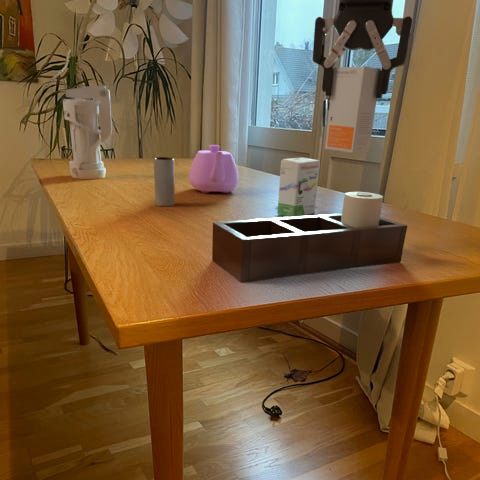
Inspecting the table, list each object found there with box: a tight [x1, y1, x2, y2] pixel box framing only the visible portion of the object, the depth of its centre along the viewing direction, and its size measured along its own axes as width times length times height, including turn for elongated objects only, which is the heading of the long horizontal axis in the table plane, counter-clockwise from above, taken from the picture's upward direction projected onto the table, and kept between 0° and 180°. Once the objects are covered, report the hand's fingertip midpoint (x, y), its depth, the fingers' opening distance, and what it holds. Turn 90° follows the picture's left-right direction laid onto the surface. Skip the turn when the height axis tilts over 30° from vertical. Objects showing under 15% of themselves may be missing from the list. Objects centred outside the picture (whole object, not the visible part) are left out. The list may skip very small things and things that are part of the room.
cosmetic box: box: [324, 66, 382, 155], centre depth 74 cm, size 6×4×12 cm
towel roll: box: [341, 191, 384, 228], centre depth 77 cm, size 6×6×10 cm
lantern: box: [62, 85, 113, 180], centre depth 139 cm, size 13×10×25 cm
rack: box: [211, 213, 408, 283], centre depth 74 cm, size 29×10×6 cm, turn 116°
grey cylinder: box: [153, 156, 176, 207], centre depth 109 cm, size 4×4×10 cm
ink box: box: [276, 157, 321, 217], centre depth 105 cm, size 8×5×12 cm, turn 139°
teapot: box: [188, 144, 239, 194], centre depth 127 cm, size 20×13×12 cm, turn 11°
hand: (353, 97), depth 73 cm, fingers closed on cosmetic box, 7 cm apart
